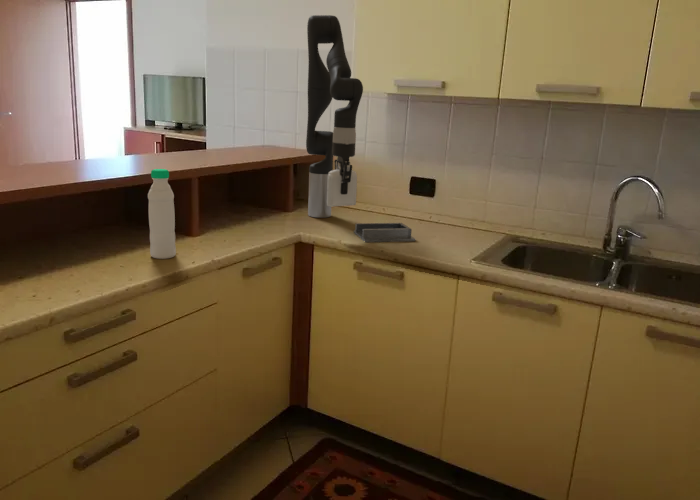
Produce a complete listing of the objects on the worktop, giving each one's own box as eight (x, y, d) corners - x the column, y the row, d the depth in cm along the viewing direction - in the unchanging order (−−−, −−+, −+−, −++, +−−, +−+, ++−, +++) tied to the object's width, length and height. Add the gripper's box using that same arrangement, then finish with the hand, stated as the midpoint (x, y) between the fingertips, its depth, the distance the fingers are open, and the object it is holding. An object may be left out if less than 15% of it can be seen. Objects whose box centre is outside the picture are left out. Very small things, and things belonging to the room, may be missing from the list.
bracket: (353, 232, 208) (354, 222, 207) (400, 231, 213) (401, 221, 212) (364, 242, 195) (365, 231, 194) (415, 241, 200) (415, 230, 199)
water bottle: (153, 260, 164) (149, 171, 157) (148, 253, 170) (144, 168, 163) (178, 258, 167) (175, 170, 161) (173, 251, 173) (170, 167, 167)
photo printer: (329, 207, 193) (331, 170, 190) (324, 204, 197) (326, 168, 193) (357, 206, 197) (359, 169, 194) (352, 203, 201) (354, 167, 197)
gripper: (327, 138, 197) (326, 188, 201) (338, 143, 183) (336, 197, 188) (349, 139, 199) (347, 188, 203) (361, 144, 185) (358, 196, 190)
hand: (341, 192), depth 196 cm, fingers closed on photo printer, 4 cm apart
